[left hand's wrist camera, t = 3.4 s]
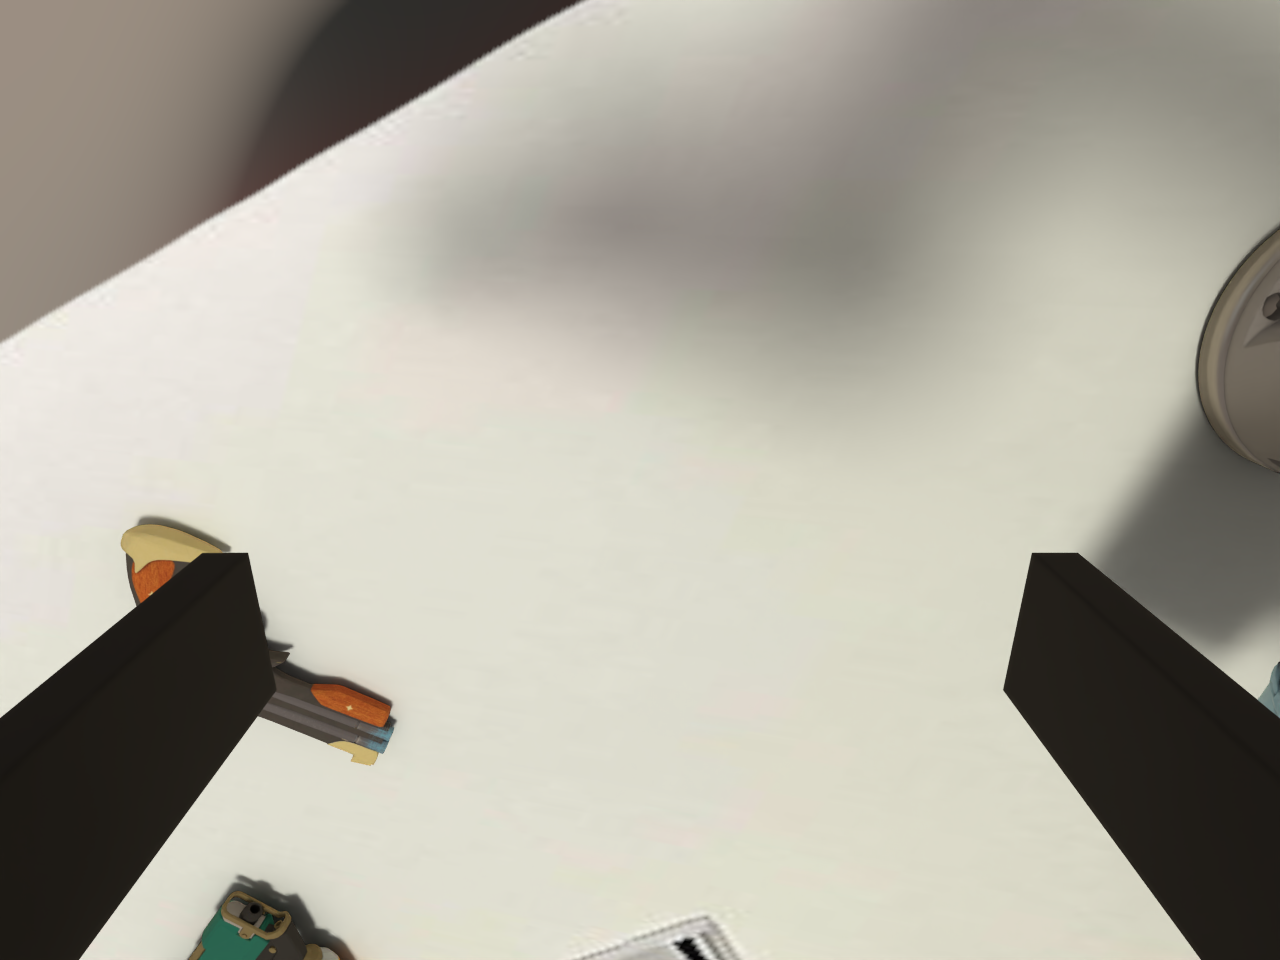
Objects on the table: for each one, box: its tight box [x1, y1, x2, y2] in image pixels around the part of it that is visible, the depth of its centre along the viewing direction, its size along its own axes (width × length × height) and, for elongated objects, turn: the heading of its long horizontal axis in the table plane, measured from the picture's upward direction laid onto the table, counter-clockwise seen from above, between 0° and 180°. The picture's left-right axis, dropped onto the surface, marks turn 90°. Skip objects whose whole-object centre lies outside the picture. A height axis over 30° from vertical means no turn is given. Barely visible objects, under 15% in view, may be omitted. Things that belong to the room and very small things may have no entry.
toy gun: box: [121, 524, 394, 765], centre depth 46 cm, size 3×19×10 cm
